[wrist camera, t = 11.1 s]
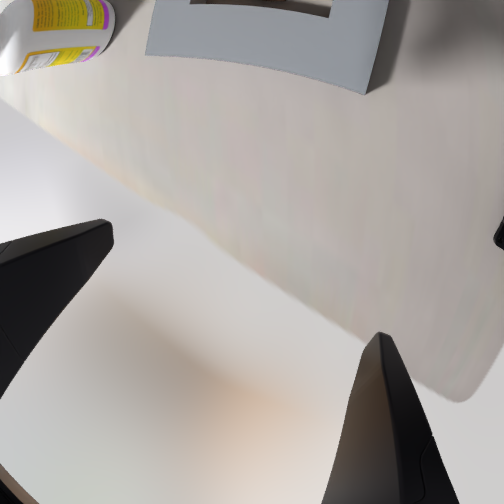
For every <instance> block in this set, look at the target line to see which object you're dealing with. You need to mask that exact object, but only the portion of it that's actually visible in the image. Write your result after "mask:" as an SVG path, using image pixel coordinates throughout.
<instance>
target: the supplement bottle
mask: <svg viewBox="0 0 504 504" xmlns="http://www.w3.org/2000/svg"><path fill="white" fill-rule="evenodd" d="M114 26H115V13H114V9H113V7H112V6H111V4H110V3H109V2H107V1H105V0H15V1H13V2H12V3H10V4H9V5H8V6H7V7H6V8H5V9H4V10H3V12H2V13H1V14H0V75H2V76H7V75H11V74H15V73H19V72H23V71H28V70H33V69H38V68H43V67H49V66H55V65H62V64H69V63H77V62H84V61H89V60H91V59H93V58H95V57H97V56H98V55H99V54H100V53H101V52H102V51H103V50H104V49H105V47H106V46H107V44H108V42H109V40H110V38H111V36H112V33H113V30H114Z"/></svg>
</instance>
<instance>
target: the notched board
mask: <svg viewBox="0 0 504 504" xmlns="http://www.w3.org/2000/svg"><path fill="white" fill-rule="evenodd" d="M388 2H389V0H333V3H332V7H331V11H330V15H329V18H325V17H320V16H316V15H311V14H306V13H301V12H295V11H289V10H282V9H275V8H267V7H257V6H245V5H227V4H206V0H156V2H155V6H154V11H153V15H152V20H151V25H150V30H149V35H148V40H147V46H146V52H145V55H146V56H172V57H189V58H201V59H211V60H220V61H227V62H234V63H241V64H247V65H253V66H259V67H264V68H269V69H274V70H279V71H283V72H288V73H292V74H296V75H300V76H304V77H308V78H312V79H315V80H319V81H322V82H326V83H329V84H332V85H336V86H339V87H342V88H345V89H348V90H351V91H354V92H357V93H360V94H362V95H365V93H366V90H367V86H368V83H369V79H370V75H371V72H372V68H373V64H374V61H375V57H376V53H377V49H378V45H379V41H380V37H381V33H382V29H383V25H384V20H385V16H386V11H387V7H388Z"/></svg>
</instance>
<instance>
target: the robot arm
mask: <svg viewBox="0 0 504 504" xmlns="http://www.w3.org/2000/svg"><path fill="white" fill-rule="evenodd" d="M500 237H501V239H500V241H498V239H499V238H500ZM493 240H494V243H495V244H496V245H497V246H498V247H500V248H501V249H503V250H504V217H503V220H502V222H501V224H500V226H499V228H498V230H497V231H496V233H495V235H494V238H493ZM113 245H114V239H113V227H112V224H111V222H109V221H107V220H105V219H97V220H93V221H88V222H84V223H79V224H75V225H71V226H67V227H62V228H58V229H54V230H50V231H46V232H42V233H38V234H34V235H31V236H26V237H23V238H20V239H15V240H13V241H8V242H5V243H1V244H0V399H1V397H2V396H3V394H4V392H5V391H6V389H7V388H8V386H9V384H10V383H11V381H12V380H13V378H14V377H15V375H16V374H17V372H18V371H19V369H20V368H21V366H22V365H23V363H24V361H25V360H26V359H27V357H28V356H29V355H30V353H31V352H32V350H33V349H34V348H35V346H36V345H37V343H38V342H39V340H40V339H41V338H42V337H43V335H44V334H45V333H46V331H47V330H48V329H49V328H50V326H51V325H52V324H53V322H54V321H55V320H56V318H57V317H58V316H59V315H60V313H61V312H62V311H63V310H64V309H65V307H66V306H67V305H68V304H69V303H70V301H71V300H72V299H73V298H74V296H75V295H76V294H77V293H78V292H79V290H80V289H81V288H82V287H83V286H84V285H85V283H86V282H87V281H88V280H89V279H90V277H91V276H92V275H93V273H94V272H95V270H96V269H97V268H98V266H99V265H100V264H101V262H102V261H103V260H104V258H105V257H106V256H107V254H108V253H109V252H110V250H111V249H112V247H113ZM0 504H39V503H38V502H37V501H36V500H35V499H33V497H32V496H30V495H29V494H28V493H27V492H26V491H25V490H24V489H23V488H22V487H21V486H20V485H19V484H18V483H17V482H16V481H15V479H14V478H13V477H12V476H11V475H10V474H9V473H8V472H7V471H6V470H5V468H4V467H3V466H2V465H1V464H0ZM321 504H459V501H458V499H457V496H456V493H455V491H454V488H453V486H452V484H451V481H450V479H449V477H448V474H447V471H446V469H445V467H444V464H443V462H442V459H441V456H440V453H439V450H438V448H437V445H436V442H435V439H434V437H433V436H432V431H431V428H430V426H429V423H428V420H427V418H426V415H425V413H424V410H423V408H422V405H421V402H420V400H419V398H418V395H417V393H416V390H415V388H414V386H413V383H412V381H411V379H410V376H409V374H408V372H407V369H406V367H405V365H404V363H403V360H402V358H401V356H400V354H399V352H398V350H397V347H396V345H395V343H394V341H393V339H392V337H391V336H390V335H388V334H385V333H382V332H377V333H376V334H375V336H374V337H373V338H372V339H371V341H370V342H369V343H368V345H367V346H366V347H365V349H364V351H363V353H362V356H361V359H360V363H359V367H358V370H357V374H356V377H355V381H354V384H353V388H352V390H351V394H350V397H349V401H348V406H347V411H346V415H345V420H344V424H343V429H342V433H341V437H340V441H339V445H338V449H337V453H336V457H335V461H334V464H333V468H332V471H331V475H330V478H329V481H328V485H327V488H326V491H325V494H324V497H323V500H322V503H321Z"/></svg>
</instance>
